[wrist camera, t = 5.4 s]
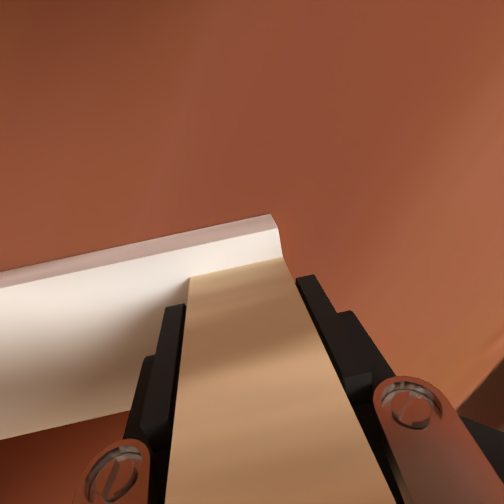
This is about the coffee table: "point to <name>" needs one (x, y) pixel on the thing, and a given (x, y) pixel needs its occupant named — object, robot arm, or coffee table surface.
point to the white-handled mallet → (191, 365)
